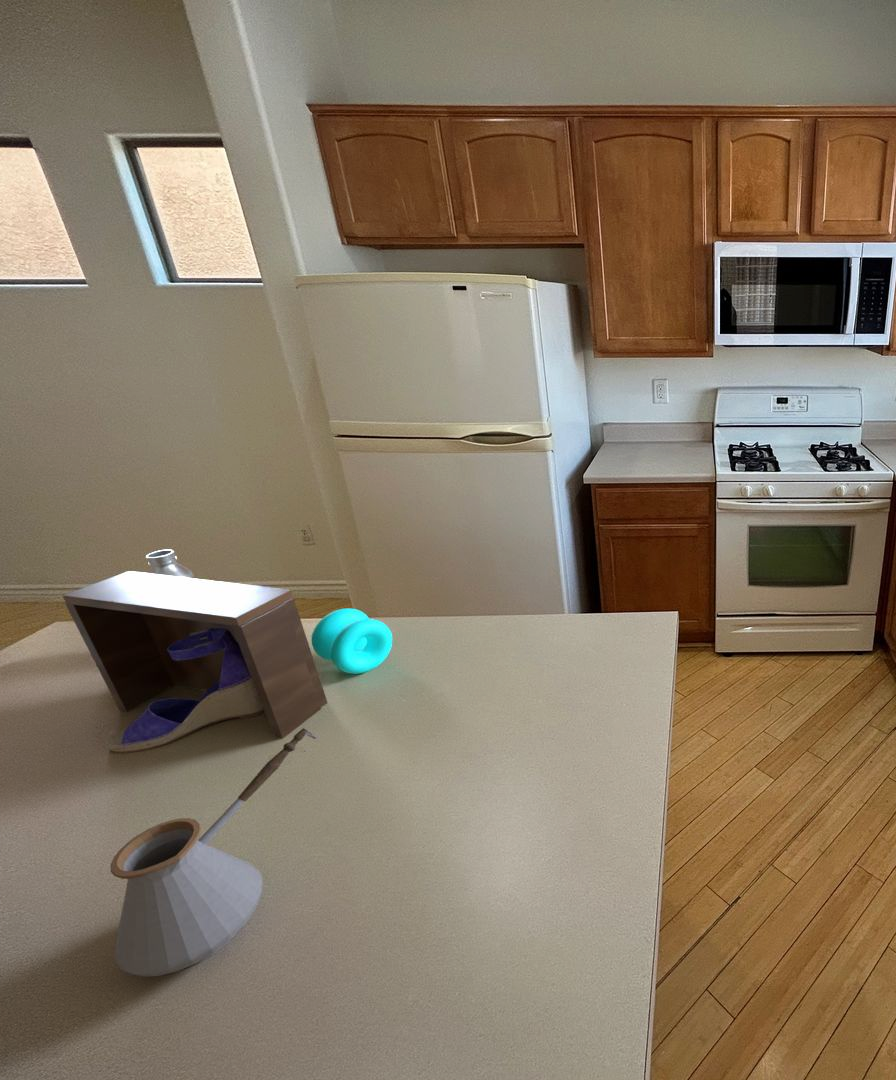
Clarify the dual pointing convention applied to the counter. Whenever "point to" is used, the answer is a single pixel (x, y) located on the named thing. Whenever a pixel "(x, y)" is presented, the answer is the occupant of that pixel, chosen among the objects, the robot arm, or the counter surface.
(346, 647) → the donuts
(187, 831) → the coffee pot
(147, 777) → the counter surface
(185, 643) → the sandal
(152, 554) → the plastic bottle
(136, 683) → the shoe rack
